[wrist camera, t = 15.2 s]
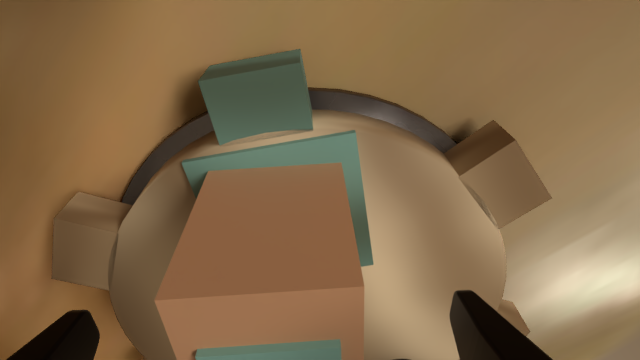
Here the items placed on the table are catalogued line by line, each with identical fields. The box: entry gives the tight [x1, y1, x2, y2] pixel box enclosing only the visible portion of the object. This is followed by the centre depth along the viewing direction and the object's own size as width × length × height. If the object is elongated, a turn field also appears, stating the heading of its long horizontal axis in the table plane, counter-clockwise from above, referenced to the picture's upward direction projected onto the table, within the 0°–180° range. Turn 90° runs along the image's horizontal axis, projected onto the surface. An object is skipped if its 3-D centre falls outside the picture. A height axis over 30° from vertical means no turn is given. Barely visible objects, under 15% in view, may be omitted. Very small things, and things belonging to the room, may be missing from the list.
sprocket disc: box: [52, 49, 552, 360], centre depth 14 cm, size 19×18×6 cm
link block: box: [154, 162, 364, 360], centre depth 11 cm, size 4×4×5 cm
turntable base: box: [122, 87, 457, 205], centre depth 17 cm, size 16×16×1 cm
